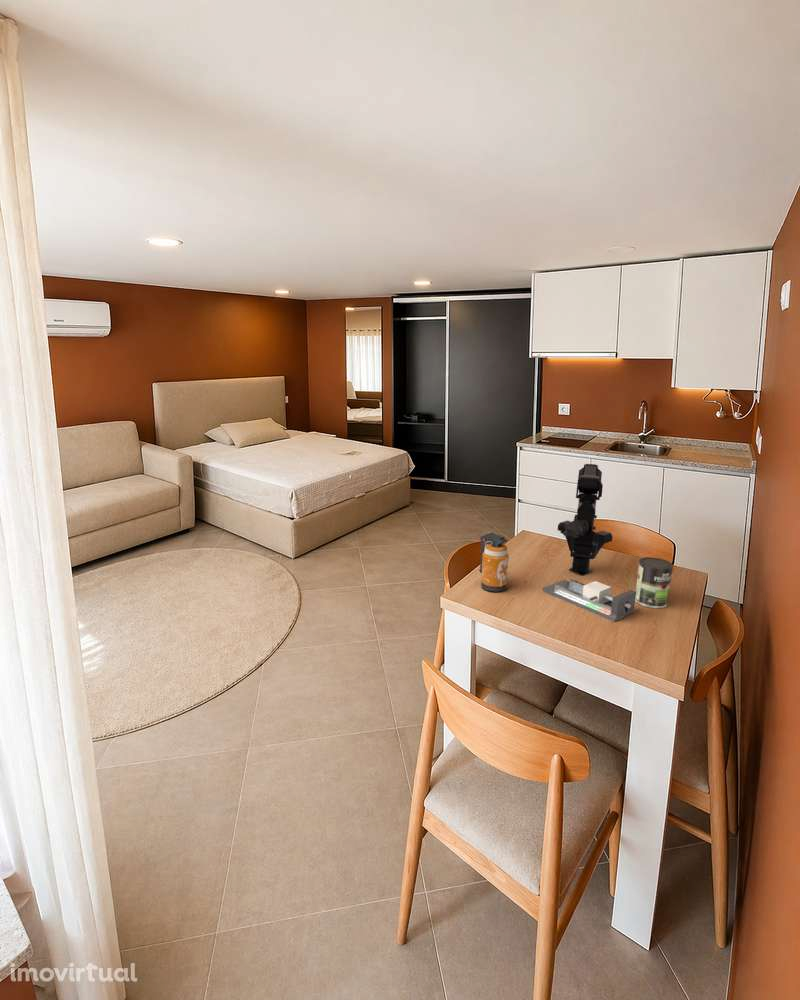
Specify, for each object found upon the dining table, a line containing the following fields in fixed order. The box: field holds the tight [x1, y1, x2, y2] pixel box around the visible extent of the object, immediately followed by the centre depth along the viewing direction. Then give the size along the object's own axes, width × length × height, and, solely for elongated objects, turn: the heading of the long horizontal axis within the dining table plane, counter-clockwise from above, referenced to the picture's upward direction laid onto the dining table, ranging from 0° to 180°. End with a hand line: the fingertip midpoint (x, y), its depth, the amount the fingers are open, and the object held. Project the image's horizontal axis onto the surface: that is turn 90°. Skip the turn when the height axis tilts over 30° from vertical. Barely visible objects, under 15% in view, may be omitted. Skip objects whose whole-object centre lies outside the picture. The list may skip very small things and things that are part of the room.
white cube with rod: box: [583, 580, 631, 608], centre depth 176 cm, size 9×15×5 cm, turn 37°
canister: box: [478, 531, 510, 593], centre depth 192 cm, size 9×11×20 cm
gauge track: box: [542, 578, 637, 622], centre depth 183 cm, size 12×28×7 cm, turn 37°
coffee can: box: [635, 556, 674, 609], centre depth 182 cm, size 10×10×14 cm
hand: (582, 554), depth 193 cm, fingers open, 9 cm apart
